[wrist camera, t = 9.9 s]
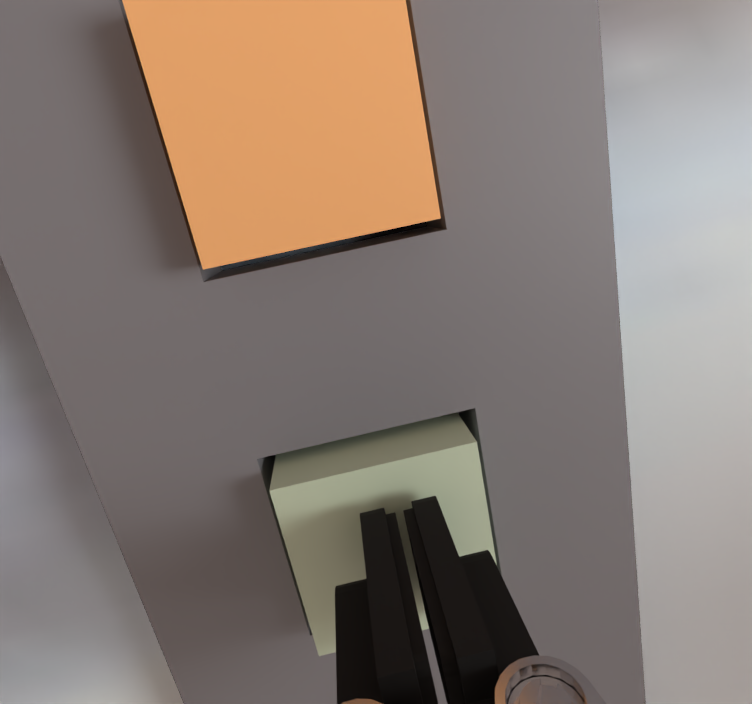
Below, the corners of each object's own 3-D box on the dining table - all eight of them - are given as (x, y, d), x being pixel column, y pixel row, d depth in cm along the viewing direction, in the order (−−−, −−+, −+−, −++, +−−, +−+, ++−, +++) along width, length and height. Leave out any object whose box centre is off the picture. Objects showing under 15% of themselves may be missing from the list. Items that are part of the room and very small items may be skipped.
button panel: (525, -247, 10) (573, -354, 8) (622, 803, 19) (656, 872, 17) (-93, -138, 10) (-198, -225, 8) (297, 891, 18) (294, 972, 16)
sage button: (451, 403, 13) (477, 441, 11) (476, 549, 14) (504, 609, 12) (278, 443, 13) (269, 490, 10) (319, 588, 14) (319, 656, 12)
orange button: (380, -7, 10) (394, -63, 8) (418, 216, 11) (441, 218, 9) (161, 36, 10) (118, -11, 8) (224, 258, 11) (202, 269, 9)
